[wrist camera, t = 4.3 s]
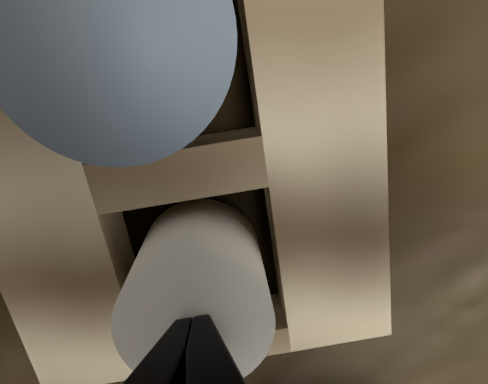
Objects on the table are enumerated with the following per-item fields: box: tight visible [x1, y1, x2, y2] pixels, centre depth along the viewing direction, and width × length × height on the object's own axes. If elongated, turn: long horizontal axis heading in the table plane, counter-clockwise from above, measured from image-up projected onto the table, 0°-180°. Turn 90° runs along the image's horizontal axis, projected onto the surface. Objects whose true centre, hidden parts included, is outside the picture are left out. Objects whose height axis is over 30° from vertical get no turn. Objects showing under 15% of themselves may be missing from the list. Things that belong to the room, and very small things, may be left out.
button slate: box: [0, 0, 237, 167], centre depth 7 cm, size 4×4×4 cm
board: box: [0, 0, 391, 384], centre depth 10 cm, size 20×12×2 cm, turn 9°
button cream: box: [111, 199, 276, 378], centre depth 11 cm, size 4×4×4 cm
